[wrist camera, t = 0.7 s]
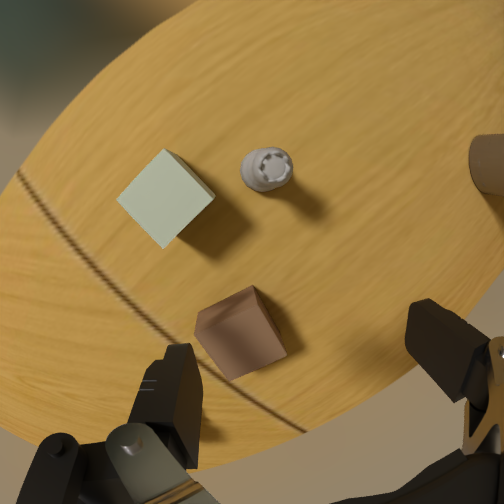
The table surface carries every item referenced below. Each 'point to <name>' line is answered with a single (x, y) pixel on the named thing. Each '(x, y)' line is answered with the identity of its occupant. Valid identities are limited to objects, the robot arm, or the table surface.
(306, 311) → the table surface
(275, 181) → the rook chess piece
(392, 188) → the table surface
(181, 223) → the sage block
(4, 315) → the table surface
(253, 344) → the walnut block
